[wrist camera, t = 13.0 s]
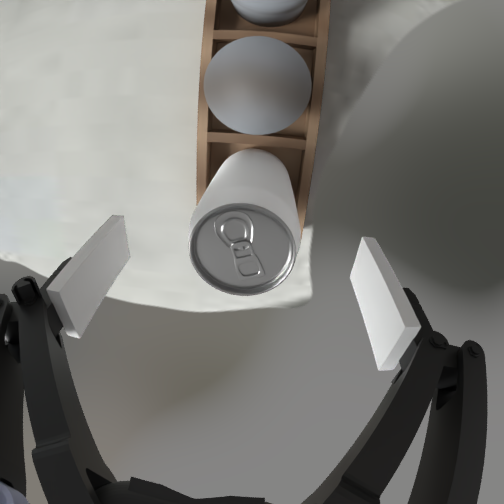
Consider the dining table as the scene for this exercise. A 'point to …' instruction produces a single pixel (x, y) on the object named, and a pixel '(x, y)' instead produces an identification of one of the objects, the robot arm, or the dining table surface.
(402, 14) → the dining table surface
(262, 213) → the can
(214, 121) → the socket rail
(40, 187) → the dining table surface
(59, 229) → the dining table surface
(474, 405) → the robot arm
